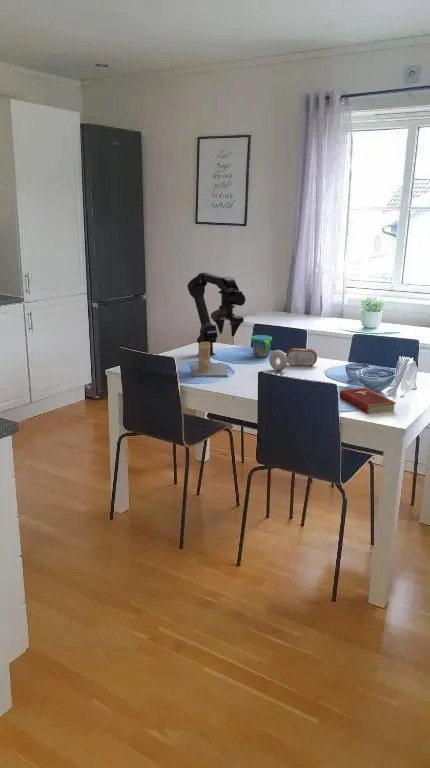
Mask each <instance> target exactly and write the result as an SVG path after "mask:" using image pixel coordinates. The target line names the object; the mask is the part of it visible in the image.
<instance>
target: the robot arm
mask: <svg viewBox="0 0 430 768" xmlns="http://www.w3.org/2000/svg"><path fill="white" fill-rule="evenodd" d="M208 283H209V284H211V285H215V286H217V288H219V289H220V290H219V291H218V294H220V295H221V296H220V298H221V301H220V303H221V304H220V305H219V306H218V309H216V310H214V311H212V312H211V314H210V316H209V311H208V308H207V304H206V301H205V297H204V295H205V292H206V286H207V285H208ZM187 290H188V292H189V295H190V296H191V297H192V298H193V300H194V303H195V306H196V310H197V313H198V314H197V315H198V318H199V321H200V324H201V325H200V329H199V335H198V337H197V338H196V342H197V344H199V343H200V342H210V356H214V355H216V354H215V353H214V345H213V344H215V343H216V342H217V338H218V333H219V334H220V335H221V334H223V330H224V325H225V320H227V321H229V326H231V328H230V331H231V332H230V333H231V337H232V338H233V337H235V335H236V333H237V330H238V329H239V327H240V326H241V325H242V324H243V323H244V322H245V321H244V320H245V319H244V317H243V316H240V315H235V313H234V309H235V307H236V306H240V307H242V306H243V305H244V304H245V303H246V297H245V295H244V293H243V291H242V290H240V289H239V287H238V284H237V282H236V280H235V278H234V277H232V276H231V277H230V276H226V277H225V276H219V275H214V274H212V273H209V272H199V273H198V274H197V276H195V277H194V278H192V279H191V280H190V281H188V283H187ZM211 320H212V321H213V322H214V323H215V324H212V322H211ZM197 354H198V355H199V352H197Z"/></svg>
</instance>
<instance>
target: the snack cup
mask: <svg viewBox="0 0 430 768" xmlns="http://www.w3.org/2000/svg"><path fill="white" fill-rule="evenodd" d="M250 340H251V343H252V353H253V356H254V357H256V358H260V357H264V358H268V357H269V355H270V354H269V353H270V351H271V349H270V348H271V343H272V341H273V337H272V336H270V335H264V334H258V335H255V334H254V335H251V338H250Z"/></svg>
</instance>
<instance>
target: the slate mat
mask: <svg viewBox="0 0 430 768" xmlns="http://www.w3.org/2000/svg"><path fill="white" fill-rule="evenodd" d="M191 367H192V369H191V370H192V374H191V375H192V378H199V377H198V376H212V377H211V378H228V377H229V374H228V370H227V364H225V363H224V364H222V363H220V364H219V363H218V364H217V363H216V364H215V363H214V364H211V363H210V370H209V372H199V363H198V364H197V363H193V364H192V366H191Z"/></svg>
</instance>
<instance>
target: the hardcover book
mask: <svg viewBox="0 0 430 768" xmlns="http://www.w3.org/2000/svg"><path fill="white" fill-rule="evenodd" d="M338 396H339V399H340V400H342V401H343V402H345V401H346V403H347V402H348V404H349V403H350V404H349V405H351V406H352V405H353V406H352V407H354V406H355V407H354V408H356V407H357V408H356V409H358V408H359V409H360V410H359V409H358V410H359V411H361V412H364V413H365V414H366V415H369V414H379V413H389V412H395V411H394V410H395V404H397V402H395V401H394V400H391V399H389V398H388V397H385V396H384V395H381V394H380V393H377V392H375V391H374V390H372V389H369V388H367V387H359V388H357V387H356V388H347V389H340V390H339V395H338Z"/></svg>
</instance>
